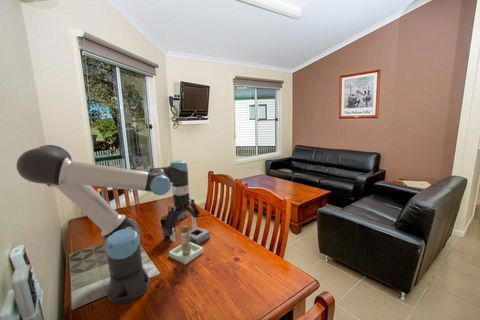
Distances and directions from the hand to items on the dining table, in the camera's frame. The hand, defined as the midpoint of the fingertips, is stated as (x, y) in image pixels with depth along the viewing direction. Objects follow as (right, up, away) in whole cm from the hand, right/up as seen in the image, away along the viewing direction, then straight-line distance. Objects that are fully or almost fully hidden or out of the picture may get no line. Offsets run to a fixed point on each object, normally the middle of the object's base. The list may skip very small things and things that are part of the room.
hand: (184, 234), depth 113 cm
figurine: (-14, -3, +45) cm, 48 cm away
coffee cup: (-12, -8, +18) cm, 23 cm away
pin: (+1, -10, +2) cm, 10 cm away
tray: (+1, -10, +2) cm, 11 cm away
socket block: (+4, -8, +16) cm, 18 cm away
